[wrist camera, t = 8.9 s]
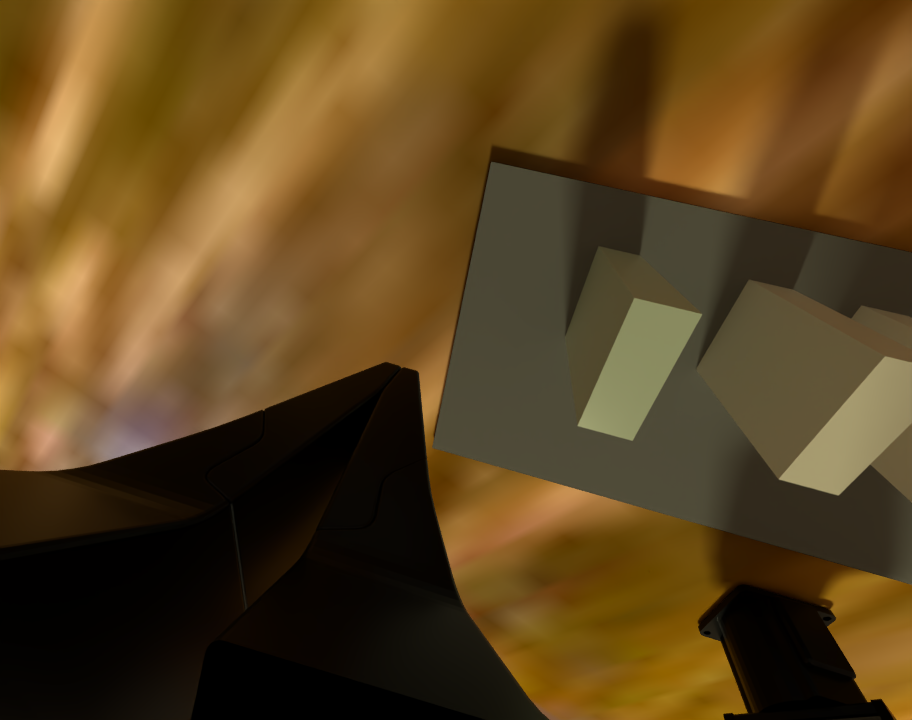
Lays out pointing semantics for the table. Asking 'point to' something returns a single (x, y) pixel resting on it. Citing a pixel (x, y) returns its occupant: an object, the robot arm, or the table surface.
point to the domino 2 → (808, 385)
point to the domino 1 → (624, 341)
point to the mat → (684, 392)
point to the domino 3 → (908, 456)
